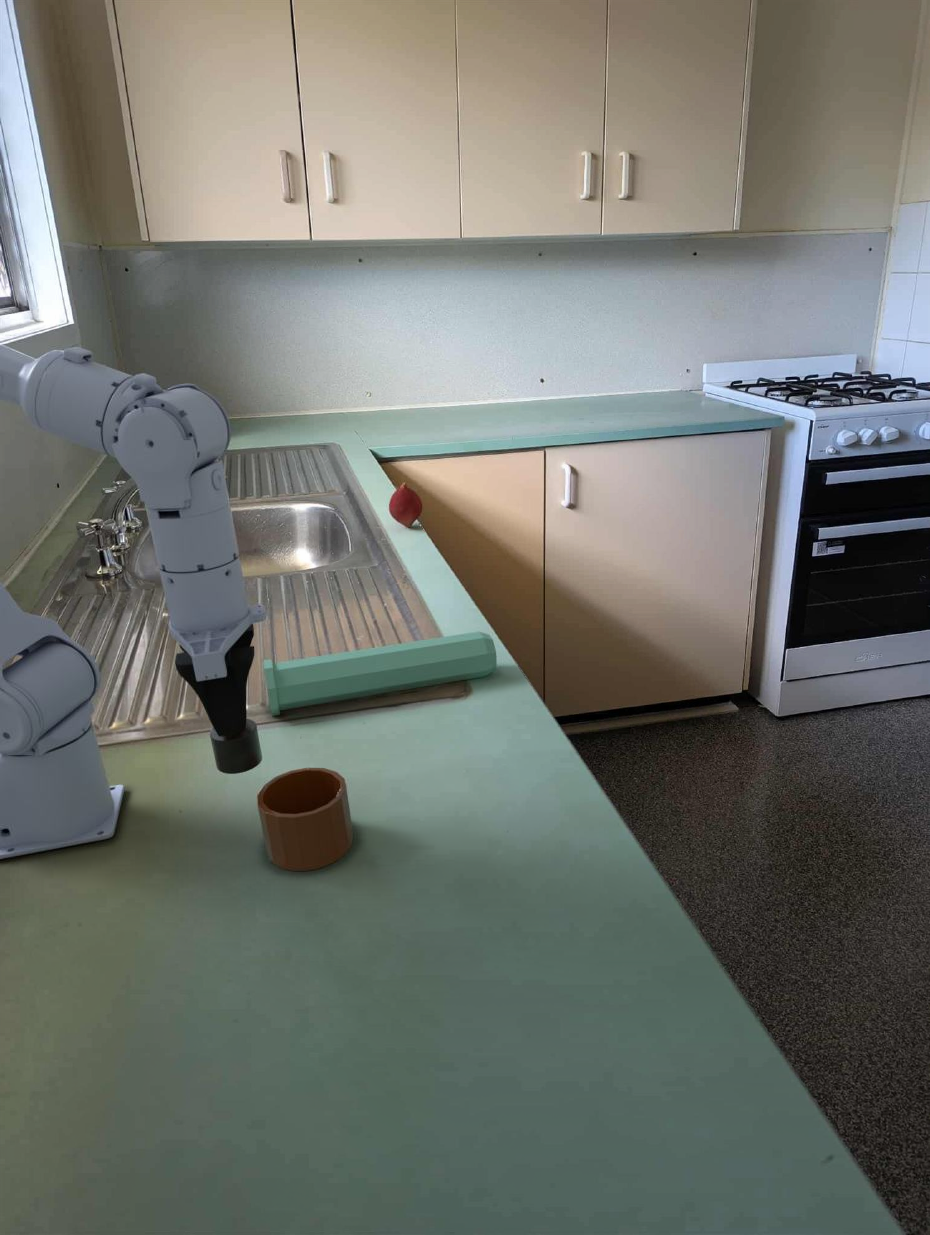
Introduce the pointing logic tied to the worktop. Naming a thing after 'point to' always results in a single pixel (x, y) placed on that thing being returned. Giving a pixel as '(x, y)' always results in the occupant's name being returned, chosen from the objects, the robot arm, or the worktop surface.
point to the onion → (405, 505)
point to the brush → (237, 750)
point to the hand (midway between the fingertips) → (232, 724)
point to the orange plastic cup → (305, 818)
